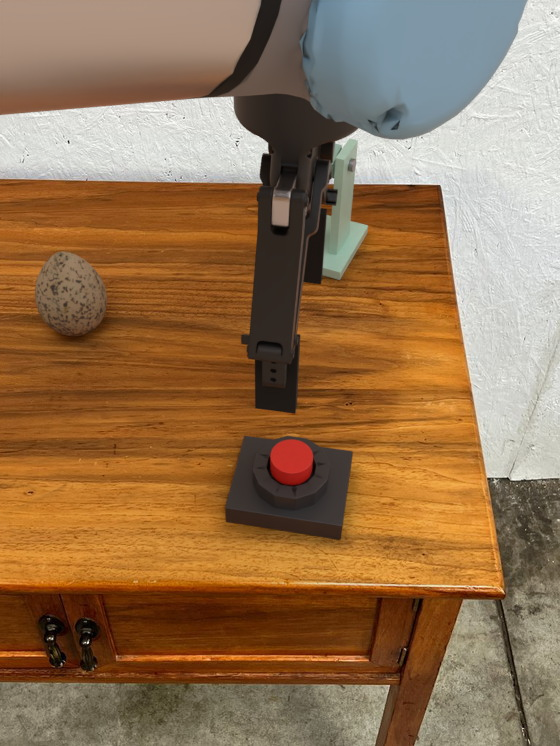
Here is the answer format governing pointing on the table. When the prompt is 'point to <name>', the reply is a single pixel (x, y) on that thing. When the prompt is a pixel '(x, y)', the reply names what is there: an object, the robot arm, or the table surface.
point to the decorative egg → (70, 295)
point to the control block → (290, 491)
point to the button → (291, 462)
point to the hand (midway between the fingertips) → (291, 338)
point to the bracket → (342, 217)
